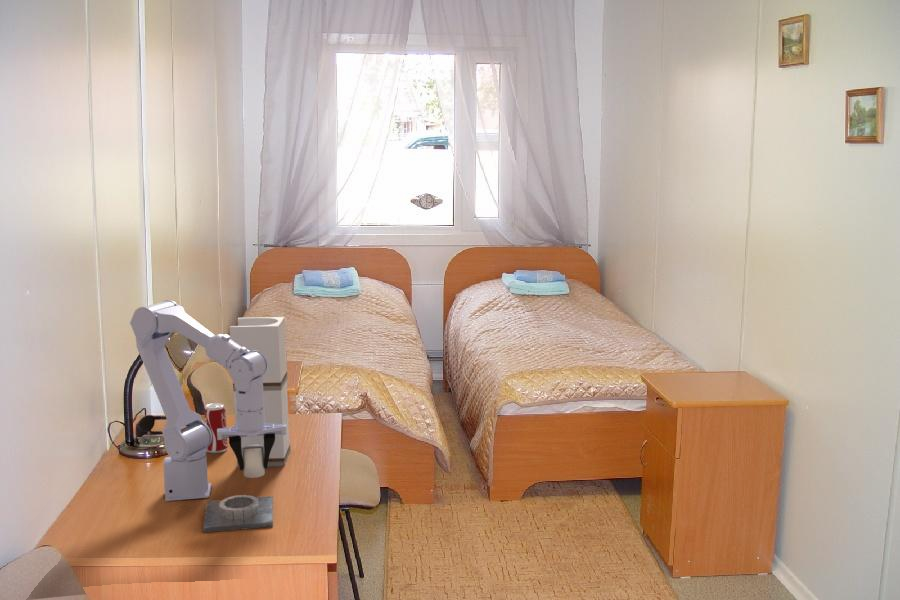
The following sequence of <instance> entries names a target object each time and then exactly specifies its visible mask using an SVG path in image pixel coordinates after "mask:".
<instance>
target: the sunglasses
mask: <svg viewBox="0 0 900 600" xmlns="http://www.w3.org/2000/svg"><path fill="white" fill-rule="evenodd" d="M157 420H158V421H159V420H163V421H164V420H166V421H167V418H166V416H165V415H151V414H148V415H145V416H142V417H141V419H139V421H138V422H136V424H135V437H142V438H143V436H152V435H155V436H156V435H163V433H162V431H163V430H162V431H161V430H160V431H157V430H156V431H155V430H152V429H154V427H155V424H156V423H155V421H157Z"/></svg>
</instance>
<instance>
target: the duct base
mask: <svg viewBox="0 0 900 600" xmlns="http://www.w3.org/2000/svg"><path fill="white" fill-rule="evenodd" d="M273 497H274V496H273V495H270V496H268V495H267V496H257V497H256V496H253V495H247V494H241V495H239V494H238V495H232V496H229V497H226V498H224V499H221V500H220V499H218V500H208V501H207V504H206V508H205V515H204V521H203V525H202V526H203V527H202V531H203V534H205V533H213V532H224V531H225V532H226V531H236V530H237V531H239V530H248V529H260V528H272V527H274V498H273Z"/></svg>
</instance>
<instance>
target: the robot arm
mask: <svg viewBox="0 0 900 600" xmlns="http://www.w3.org/2000/svg"><path fill="white" fill-rule="evenodd" d="M129 324H130V326H131V328H132V331H133V333H134V336H135V343H136V348H137V352H138V354H139V356H140V358H141V361H142V363H143V365H144V368H145V370H146V373H147V374H148V377H149V379H150V382H151V385H152V387H153V389H154V392H155V394H156V397H157V399H158V400H159V403H160V406H161V408H162V411H163V413H164V416H166V418H167V420H166V421H165V424H164V427H163V429H162V433H163V434H162V436H163V439H164V449H165V452H166V453H167V455H168V456H167V457H164V458H163V459H164V460H163V481H164V482H163V483H164V484H163V487H164V488H163V489H164V494H165V495H164V497H165V498H164V500H165V501H166V502H170V501H183V500H194V499H195V500H196V499H208V498H210V494H211V489H212V483H211V482H209V479H208V478H209V477H208V476H209V475H208V462H207V461H208V460H207V453H208V448H207V447H208V446H209V445H210V444H211V441H212V432H211V430H210V428H209V427H208V426H207V425H206V424H205V420H203V417H202V415H201V414H200V413H198V412H195V411H194V410H192V409H191V408H190V406H189V402H188V401H187V398H186V396H185V393H184V390H183V388H182V386H181V382H180V381H179V379H178V376H177V374H176V371H175V370H174V369H175V368H174V367H173V364H172V361H171V360H170V357H169V354H168V352H167V350H166V347H165V345H166V343H167V341H168V338H169V337H170V335H171V334H172V333H178V334H180V335H182V336H183V337H185V338H186V339H189V340H190V341H192V342H193V343H196V344H197V345H199V346H200V347H202V348H204V349H205V354H206V356H207V357H208V358H210V360H212V361H214V362H216V363H217V364H218V365H220V366H222V367H223V368H225V369H226V370H227V371H228V372H229V376H230V378H231V379H232V382H233V381H234V386H235V388H236V397H237V416H238V426H235V425H234V426H233V425H232V426H226V427H227V428H220V429H217V439H218V440H222V439H224V438H227V439H228V444H229V446H230V449H232V452H233V454H234V455H235V457H236V461H237V460H238V463H239V467H238V468H239V471H240V472H241V471H244V470H243V457H242V447H241V437H251V436H264V469H268V467H269V466H268V459H269V455H270V452H271V449H272V447H273V444H274V442H275V435H277V434H281V435H286V424H265V416H264V395H263V376H262V375H263V374H265V372H266V370H267V360H266V358H265V357H264V355H263V354H261V353H260V352H259V351H257V350H252V351H249V350H247V348H245V347H242V346H240V345H239V344H237V343H235V342H234V341H232V340H231V339H230V334H223V333H219V334H218V333H217V334H214V333H212V332H211V331H210V330H209V329H207V328H206V327H204V325H202V324H200V322H198V321H197V320H196V319H194V318H193V317H192V316H190V315H189V314H187V313H186V311H185V308H184V306H181V305H179V304H178V302H177V303H176V301H173V300H172V299H171V300H170V299H166V300H164V301H162V302H158V303H157V302H156V303H154V304H151V305H150V304H149V305H146V306H140V307H138V308H136V309H135V310H134V312H133V315H132V317H131V319H130V322H129ZM260 376H261V377H260ZM258 377H259V378H258Z"/></svg>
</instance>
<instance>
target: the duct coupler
mask: <svg viewBox="0 0 900 600" xmlns="http://www.w3.org/2000/svg"><path fill="white" fill-rule="evenodd" d="M242 452H243V470H242V471H243V476H244V477H245V478H249V479H255V478H259V477H262V476H264V475H265V474H266V473H265V471H266V470H265V469H264V449H263V446H262V445H258V444H253V445H247V446H244V447H243V448H242Z"/></svg>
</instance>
